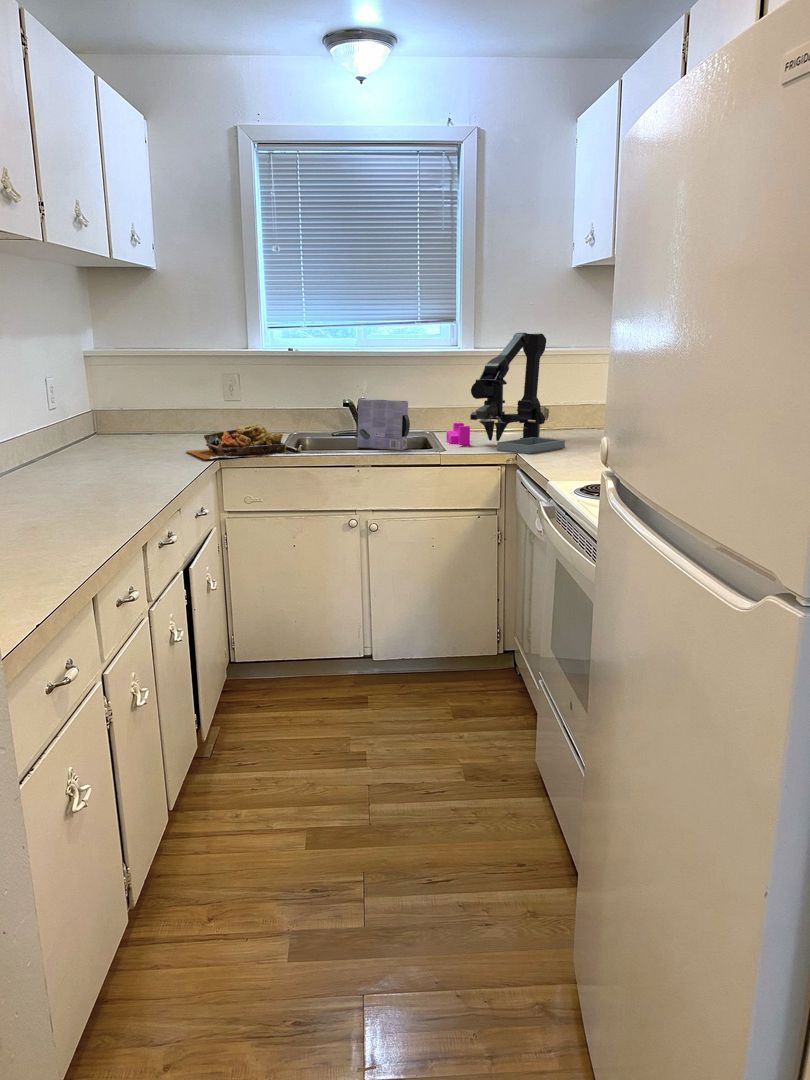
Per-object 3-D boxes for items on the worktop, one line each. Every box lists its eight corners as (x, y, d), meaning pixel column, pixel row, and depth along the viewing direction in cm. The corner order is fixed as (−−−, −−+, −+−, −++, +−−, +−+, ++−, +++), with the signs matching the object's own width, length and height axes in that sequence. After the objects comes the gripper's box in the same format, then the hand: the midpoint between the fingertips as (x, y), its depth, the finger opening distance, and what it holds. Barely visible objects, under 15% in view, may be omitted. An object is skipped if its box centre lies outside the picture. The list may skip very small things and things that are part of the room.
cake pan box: (410, 449, 288) (410, 399, 283) (404, 450, 283) (404, 400, 279) (363, 446, 296) (362, 398, 291) (356, 448, 291) (355, 399, 287)
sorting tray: (532, 445, 296) (532, 437, 295) (564, 448, 286) (564, 440, 286) (497, 450, 282) (497, 442, 281) (529, 454, 272) (529, 445, 271)
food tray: (204, 461, 264) (202, 429, 261) (185, 453, 285) (183, 422, 283) (303, 454, 280) (302, 423, 277) (278, 446, 302) (277, 418, 299)
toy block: (446, 442, 309) (446, 422, 307) (462, 442, 309) (462, 422, 307) (453, 447, 294) (453, 426, 292) (469, 446, 295) (469, 426, 293)
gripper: (460, 397, 291) (460, 440, 295) (501, 399, 278) (500, 444, 282) (480, 396, 299) (479, 438, 302) (520, 398, 286) (519, 442, 290)
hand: (494, 440), depth 294 cm, fingers open, 3 cm apart
